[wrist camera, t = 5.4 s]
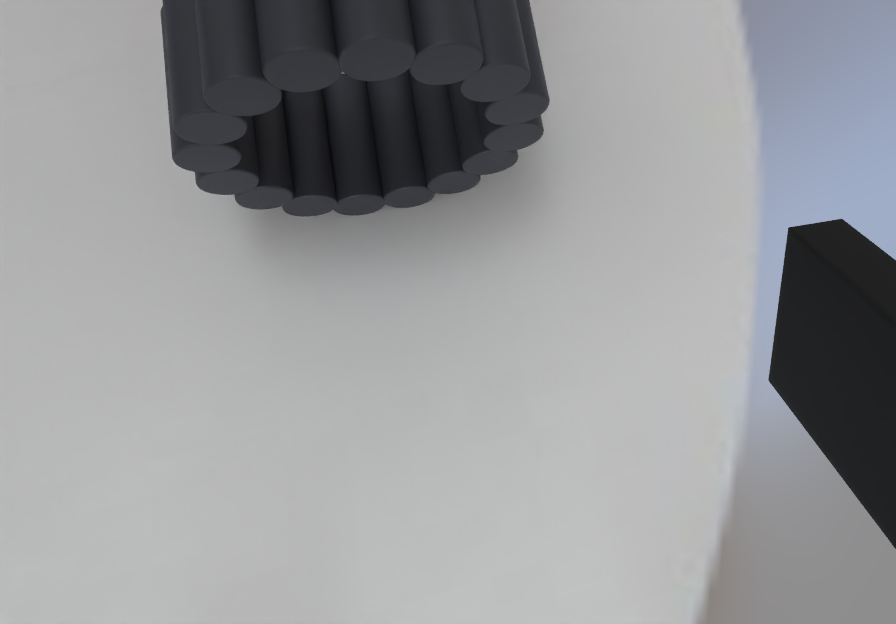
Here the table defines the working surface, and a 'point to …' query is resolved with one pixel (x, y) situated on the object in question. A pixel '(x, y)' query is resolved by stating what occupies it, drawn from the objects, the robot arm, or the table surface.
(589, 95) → the table surface
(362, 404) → the table surface
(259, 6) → the dark grey spur gear
